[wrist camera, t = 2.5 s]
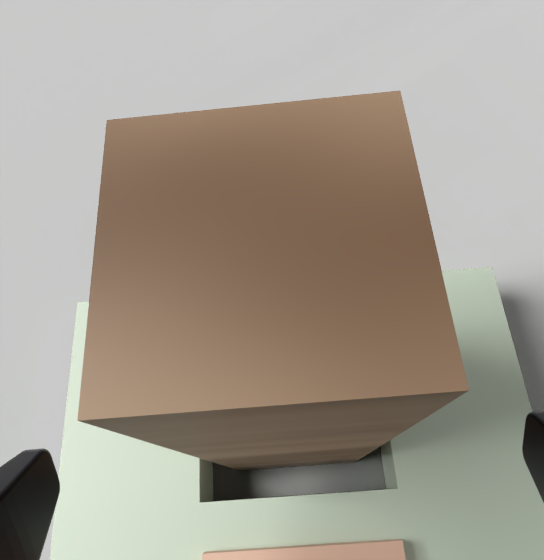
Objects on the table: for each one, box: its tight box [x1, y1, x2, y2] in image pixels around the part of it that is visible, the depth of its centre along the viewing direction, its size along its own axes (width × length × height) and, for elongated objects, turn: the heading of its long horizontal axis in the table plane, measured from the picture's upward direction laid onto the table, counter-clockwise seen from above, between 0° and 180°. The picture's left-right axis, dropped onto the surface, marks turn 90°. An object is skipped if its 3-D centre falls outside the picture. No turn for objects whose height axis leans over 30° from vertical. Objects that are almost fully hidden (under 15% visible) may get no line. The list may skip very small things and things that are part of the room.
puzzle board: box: [50, 267, 544, 560], centre depth 16 cm, size 16×16×4 cm
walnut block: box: [77, 91, 469, 470], centre depth 13 cm, size 4×4×14 cm
